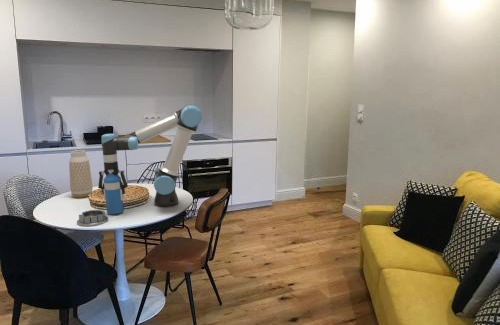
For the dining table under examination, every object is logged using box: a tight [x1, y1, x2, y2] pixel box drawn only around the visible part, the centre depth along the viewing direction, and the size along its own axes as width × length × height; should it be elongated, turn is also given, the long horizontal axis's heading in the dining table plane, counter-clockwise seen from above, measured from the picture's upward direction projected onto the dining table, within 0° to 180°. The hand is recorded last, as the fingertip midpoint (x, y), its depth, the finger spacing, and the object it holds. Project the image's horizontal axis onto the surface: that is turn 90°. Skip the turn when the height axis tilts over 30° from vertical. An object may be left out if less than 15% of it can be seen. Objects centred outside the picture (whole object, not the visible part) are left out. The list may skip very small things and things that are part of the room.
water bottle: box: [103, 170, 125, 215], centre depth 229 cm, size 9×9×25 cm
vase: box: [68, 149, 94, 199], centre depth 265 cm, size 14×14×31 cm
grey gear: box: [76, 209, 109, 228], centre depth 217 cm, size 16×16×5 cm
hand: (114, 199), depth 230 cm, fingers closed on water bottle, 9 cm apart
